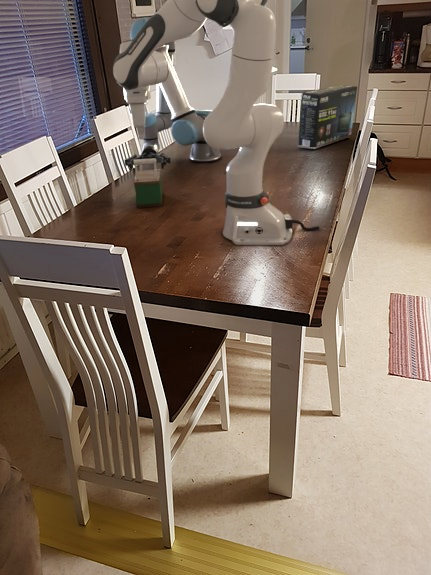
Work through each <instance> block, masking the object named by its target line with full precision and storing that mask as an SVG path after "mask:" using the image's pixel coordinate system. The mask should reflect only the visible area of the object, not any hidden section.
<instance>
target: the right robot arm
mask: <svg viewBox="0 0 431 575" xmlns="http://www.w3.org/2000/svg"><path fill="white" fill-rule="evenodd" d="M266 4H268V0H165V2H164V3H163V4H162V6H160V8H159V9H158V10H157V11H156V12H155V13H154V14H153V15H151V17H149V18H150V19H149V20H148V21H147V22H146V23H145V25H144V26H143V27H142V28H141V30H140V31H139V33H138V34H137V35H136V37H135V38H134V39H132V40H131V39H127V40H124V41H122V42H121V43H120V45H119V54H118V55H117V56H116V58H114V62H113V65H112V75H113V78H114V80H115V82H116V83H117V84H118V85H119V87H121V88H122V89H123V96H124V100H125V101H126V103H127V104H128V107H129V111H130V116H131V121H132V124H133V127H134V128H135V129H136V131H137V135H138V139H139V140H143V139H144V133H145V128H144V127H145V120H146V114H147V110H146V107H147V105H148V104H149V102H148V101H149V100H151V98H152V95H151V86H156V84H160V83H163V82H165V81H166V79H167V77H168V74H169V65H168V61H167V59H166V57H165V56H164V55H163V54H162V53H161V52H157V51H155V50H156V49H157V48H158V47H160V46H162V45H164V44H166V43H169V42H172V41H175V42H176V41H179V40H183V39H187V38H190V37H191V36H193V35H194V34H195V33H197V32H198V30H200V29H201V28H202V26H203V25H204V24H205V22H206V21H207V19H208V20H210V21H213V22H215V23H216V24H217V25H218V26H220V27H221V28H226V27H228V26H230V28H231V30H232V47H231V58H230V66H229V74H228V80H227V83H226V84H227V85H226V87H225V90H224V92H223V95H222V97H221V98H220V100H219V102H218V103H217V105H215V107H214V108H213V109H212V110H213V111H212V112H211V113H210V114H209V115H208V116H207V117H206V118H205V120H204V123H203V136H204V139H205V141H206V143H207V144H208V145H209V146H210V147H211V148H213V149H219V150H221V151H222V150H224V151H226V150H227V151H229V150H235V149H238V151H237V153H236V155H235V156H234V157H233V158H232V159H231V160H230V161H229V162H228V163H227V165H226V169H225V174H226V175H225V177H226V178H225V179H226V180H225V181H226V182H225V183H226V190H225V194H224V205H225V209H226V210H225V218H224V219H225V220H224V226H223V229H222V235H223V237H225V239H228V240H230V241H232V243H233V244H234V245H236V246H283V245H286V244H288V243H289V242H290V240H291V239H292V237H293V224H297V225H299V226H300V228H301V229H302V230H303V231H310V232H311V231H315V230H316V231H317V230H320V226H319V225H316V226H311V227H306V226H305V225H304V223H303V222H302V221H300V220H297V219H293V218H292V216H291V215H290V214H289V213H287V214H284V213H283V212H282V211H280V210H279V209H278V208H277V207H276V206H275V205H272V204H271V203H270V202H269V194H270V192H269V191H267V192H266V191H265V190H263V178H264V177H263V176H264V167H265V162H266V159H267V156H268V153H269V152H270V149H271V147H273V146H272V145H273V144H274V143H275V142H276V140H277V139H278V138H279V137H280V136H281V135H282V133H283V130H284V128H285V118H284V114H283V112H282V110H281V108H279V107H278V106H277V105H275V104H268V103H257V104H256V102H257V100H259V98H261V97H262V96H263V95H264V94H265V93H266V92H267V91H268V89H269V87H270V84H271V77H272V71H273V65H274V58H275V50H276V33H277V32H276V30H277V28H276V27H277V26H276V24H277V23H276V17H275V14H274V12H273V11H272V10H271V9H270V8H268V7H267V6H266Z"/></svg>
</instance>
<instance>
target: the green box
mask: <svg viewBox="0 0 431 575" xmlns="http://www.w3.org/2000/svg"><path fill="white" fill-rule="evenodd" d="M134 194H135V199H136V200H135V202H136V207H137V208H138V209H139V208H140V209H141V208H154V207H155V208H156V207H157V208H158V207H162V206H163V187H162V177H161V175H160V183H158V184H142V185H134Z"/></svg>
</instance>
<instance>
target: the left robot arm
mask: <svg viewBox="0 0 431 575" xmlns="http://www.w3.org/2000/svg"><path fill="white" fill-rule="evenodd" d="M150 18H151V17H146V16H145V17H142V18H138V19H135V21H134V22H133V23H132V24H131V29H130V34H129V36H130V40H132V39H134V38H135V37H136V35H137V34H138V33H139V31H140V30H141V28H142V27H143V26H144V25H145V23H146V22H147V21H148V20H149V19H150ZM155 51H157V52H161V53H162V54H163V55H164V56H165V57H166V59H167V61H168V65H169V74H168V77H167V79H166V81H165V82H163V83H160V84H156V85H155V113H151V112H149V113H146V120H145V127H144V128H145V133H144V139H142V150H141V152H140V154H139V155H137V154H136V153H134V154H133V155H132V156H129V157H127V158H125V159H124V166H125V167H128V168H129V171H130V172H131V171H133V168H134V166H135V165H134V160H137V159H154V158H156V163H160V167H161V170H164V167H165V166H167V164H171V163H172V162H171V157H170V156H168V155H166V154H164V152H161V153H160V154H159V152H160V149H161V147H160V141H159V133H161V132H163V131H165V130H169V129H170V128H171V130H170V131H171V136H172V138H173V140H174V141H175V142H176V143H177V144H178V145H181V146H183V147H188V146H191V148H190V153H189V161H191V162H192V163H193V162H194V163H197V164H207V163H208V164H209V163H214V162H218V161H220V160H221V156H222V155H221V151H220V149H213V148H211V147H210V146H209V145H208V144H207V143H206V141H205V139H204V136H203V123H204V120H205V118H206V117H207V116H208V115H209V114H210V113H211V112H212V111H213V110H214V109H195V108H194V107H191V106H190V104H189V102H188V99H187V96H186V94H185V91H184V89H183V87H182V84H181V82H180V80H179V78H178V75H177V72H176V71H175V67H174V55H175V53H176V40H175V41H172V42H169V43H166V44H164V45H162V46H160V47H158V48H157V49H156V50H155Z"/></svg>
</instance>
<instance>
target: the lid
mask: <svg viewBox="0 0 431 575" xmlns="http://www.w3.org/2000/svg"><path fill="white" fill-rule="evenodd" d="M141 165H153V168H154V169H139V170H138V166H141ZM133 166H134V171H135V175H134V180H133V185H134V186H135V185H142V184H158V183H160V176H161V169H160V168H157V162H156V158H154V159H137V160H134V165H133Z"/></svg>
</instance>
